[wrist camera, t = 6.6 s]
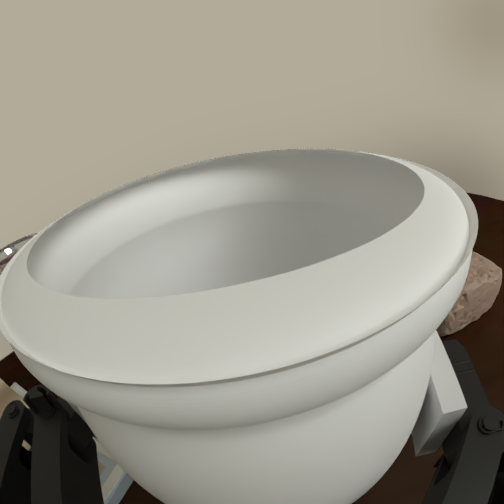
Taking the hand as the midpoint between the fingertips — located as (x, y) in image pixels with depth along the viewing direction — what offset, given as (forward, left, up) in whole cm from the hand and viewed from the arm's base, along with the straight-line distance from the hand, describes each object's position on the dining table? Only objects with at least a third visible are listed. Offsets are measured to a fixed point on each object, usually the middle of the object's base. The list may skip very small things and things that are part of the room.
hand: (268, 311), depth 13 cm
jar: (-1, +4, -9) cm, 9 cm away
